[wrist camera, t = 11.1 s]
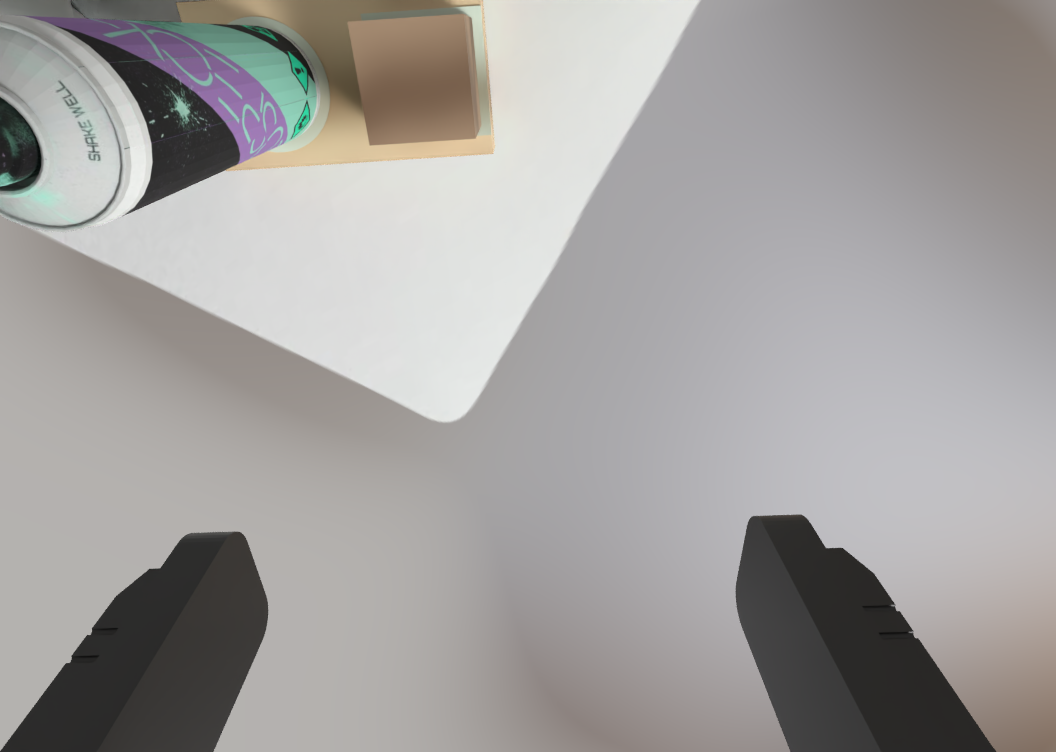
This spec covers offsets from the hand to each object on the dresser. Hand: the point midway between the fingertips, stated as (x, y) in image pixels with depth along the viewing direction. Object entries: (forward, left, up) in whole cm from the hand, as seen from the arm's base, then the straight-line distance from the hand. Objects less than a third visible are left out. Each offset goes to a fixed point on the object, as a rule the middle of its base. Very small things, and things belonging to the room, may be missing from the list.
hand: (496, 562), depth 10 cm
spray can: (-6, -12, -28) cm, 31 cm away
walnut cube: (-6, -4, -28) cm, 29 cm away
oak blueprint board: (-6, -8, -30) cm, 32 cm away
